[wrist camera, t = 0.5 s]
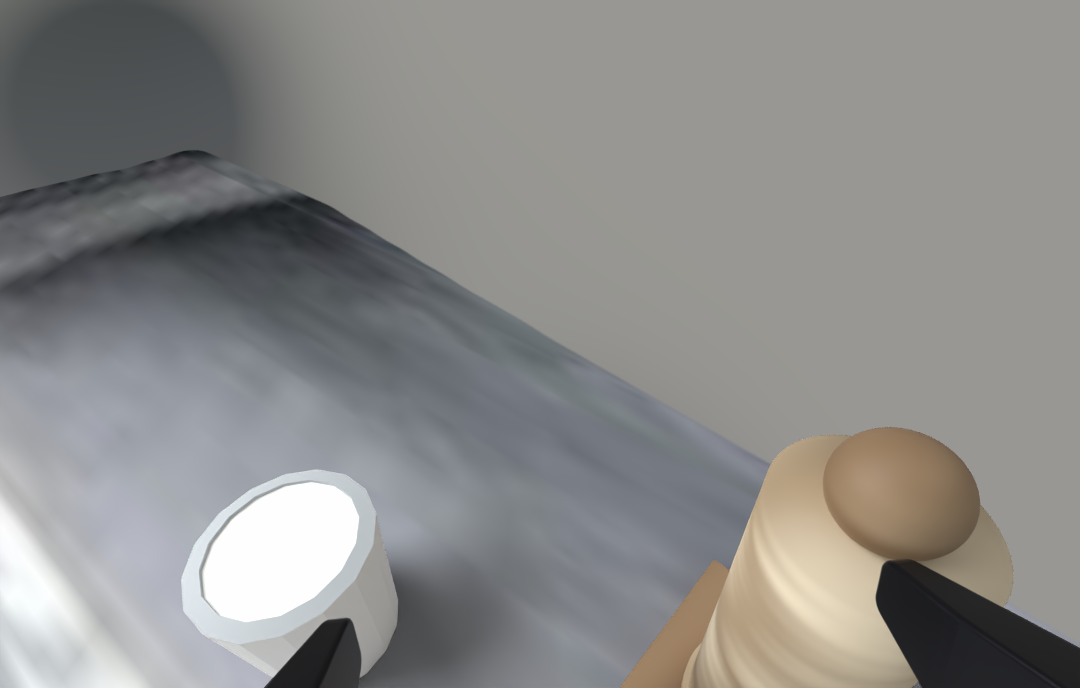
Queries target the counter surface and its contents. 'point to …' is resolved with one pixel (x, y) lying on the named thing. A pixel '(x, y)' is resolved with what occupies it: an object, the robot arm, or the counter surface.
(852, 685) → the pepper mill
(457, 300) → the counter surface
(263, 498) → the white cup
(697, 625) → the serving board
